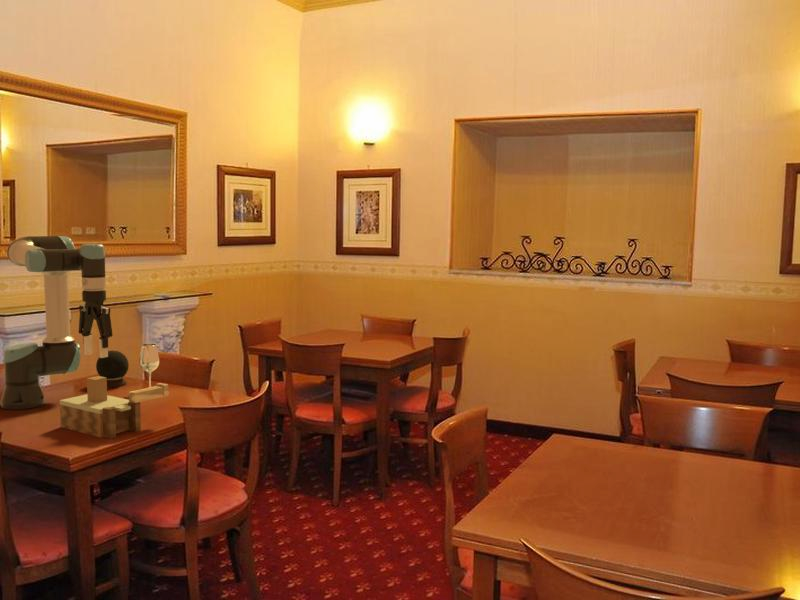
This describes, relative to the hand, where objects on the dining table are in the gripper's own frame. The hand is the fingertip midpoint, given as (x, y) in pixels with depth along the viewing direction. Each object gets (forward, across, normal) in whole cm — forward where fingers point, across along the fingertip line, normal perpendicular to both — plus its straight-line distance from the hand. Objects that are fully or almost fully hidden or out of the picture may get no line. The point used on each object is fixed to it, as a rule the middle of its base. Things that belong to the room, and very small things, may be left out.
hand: (96, 355), depth 259 cm
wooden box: (+25, +2, 0) cm, 25 cm away
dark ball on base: (+25, -52, +45) cm, 73 cm away
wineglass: (+25, -28, +45) cm, 59 cm away
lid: (+18, +2, 0) cm, 18 cm away
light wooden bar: (+15, +13, +11) cm, 23 cm away
